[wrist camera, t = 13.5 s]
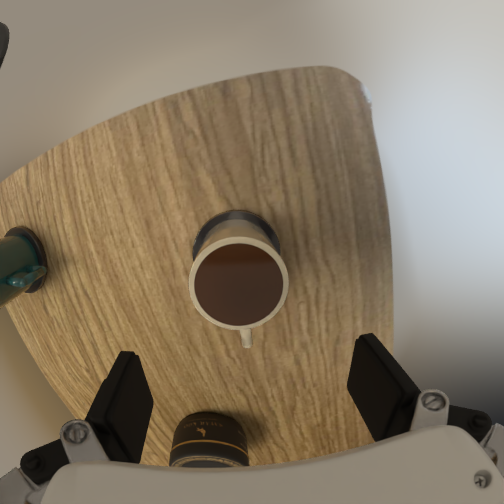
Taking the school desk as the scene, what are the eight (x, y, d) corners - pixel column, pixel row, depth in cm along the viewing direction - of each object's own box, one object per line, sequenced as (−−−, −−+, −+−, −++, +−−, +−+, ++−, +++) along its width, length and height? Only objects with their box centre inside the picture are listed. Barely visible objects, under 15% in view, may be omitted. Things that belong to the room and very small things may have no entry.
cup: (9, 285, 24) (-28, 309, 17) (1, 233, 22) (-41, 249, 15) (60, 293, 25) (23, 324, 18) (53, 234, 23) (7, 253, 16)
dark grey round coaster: (184, 221, 25) (182, 222, 24) (270, 201, 25) (271, 202, 24) (206, 300, 27) (205, 303, 26) (285, 282, 27) (287, 285, 26)
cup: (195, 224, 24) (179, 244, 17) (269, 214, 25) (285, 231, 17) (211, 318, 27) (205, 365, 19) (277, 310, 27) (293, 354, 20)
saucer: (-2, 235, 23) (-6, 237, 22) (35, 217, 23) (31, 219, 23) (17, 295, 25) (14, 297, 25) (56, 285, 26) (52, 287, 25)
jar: (239, 404, 31) (242, 451, 24) (252, 445, 34) (256, 485, 26) (164, 410, 31) (155, 454, 24) (187, 450, 34) (183, 489, 26)
